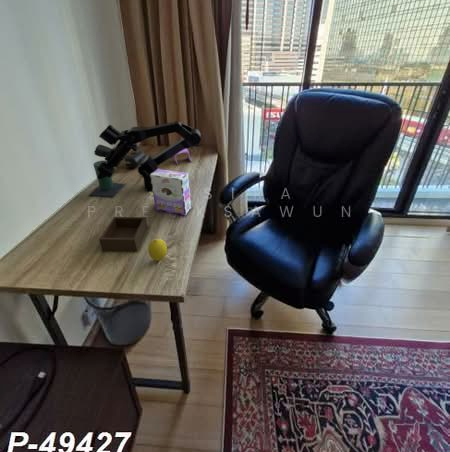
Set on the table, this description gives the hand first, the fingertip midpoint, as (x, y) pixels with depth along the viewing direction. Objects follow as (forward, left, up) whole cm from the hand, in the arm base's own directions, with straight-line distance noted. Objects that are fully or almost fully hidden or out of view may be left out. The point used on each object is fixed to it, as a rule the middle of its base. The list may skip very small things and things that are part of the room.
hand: (100, 175), depth 113 cm
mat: (-1, 0, -8) cm, 8 cm away
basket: (-7, +38, -8) cm, 40 cm away
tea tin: (-1, 0, -6) cm, 6 cm away
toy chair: (-41, -17, -8) cm, 45 cm away
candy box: (-26, +27, -8) cm, 39 cm away
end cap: (-16, -22, -8) cm, 28 cm away
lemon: (-16, +52, -8) cm, 55 cm away
